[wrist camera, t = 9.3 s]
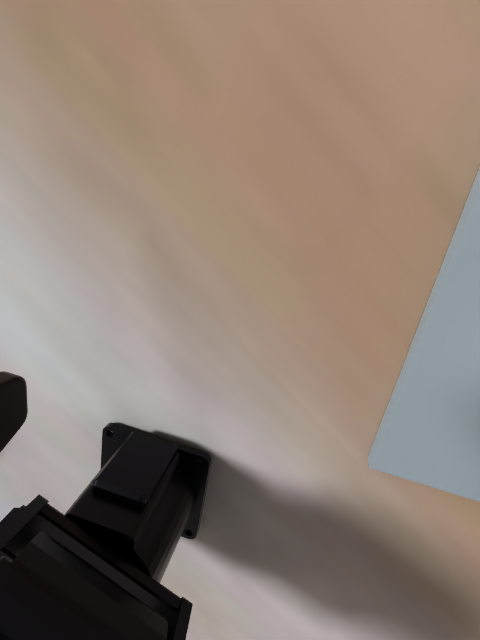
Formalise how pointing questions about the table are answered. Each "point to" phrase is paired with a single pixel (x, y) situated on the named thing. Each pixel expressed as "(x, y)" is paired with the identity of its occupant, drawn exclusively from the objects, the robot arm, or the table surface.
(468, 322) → the board
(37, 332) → the table surface
